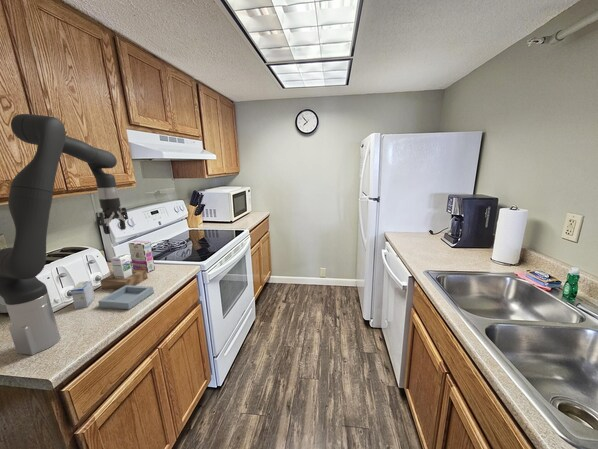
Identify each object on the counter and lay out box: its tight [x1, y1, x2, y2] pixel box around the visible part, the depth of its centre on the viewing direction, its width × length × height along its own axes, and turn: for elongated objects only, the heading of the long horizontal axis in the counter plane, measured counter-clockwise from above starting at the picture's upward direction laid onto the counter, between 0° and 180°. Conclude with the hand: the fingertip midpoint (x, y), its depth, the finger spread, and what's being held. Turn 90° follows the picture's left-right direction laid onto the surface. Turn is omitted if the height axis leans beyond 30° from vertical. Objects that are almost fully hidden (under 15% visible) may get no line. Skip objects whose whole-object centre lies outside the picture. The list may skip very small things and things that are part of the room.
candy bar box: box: [128, 240, 156, 274], centre depth 139 cm, size 11×5×16 cm, turn 71°
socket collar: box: [99, 269, 149, 291], centre depth 125 cm, size 13×13×4 cm
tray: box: [97, 285, 155, 311], centre depth 110 cm, size 14×14×3 cm
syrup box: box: [110, 253, 134, 279], centre depth 124 cm, size 6×6×14 cm
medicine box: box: [70, 280, 96, 310], centre depth 107 cm, size 8×4×9 cm, turn 21°
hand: (115, 231), depth 119 cm, fingers open, 8 cm apart
